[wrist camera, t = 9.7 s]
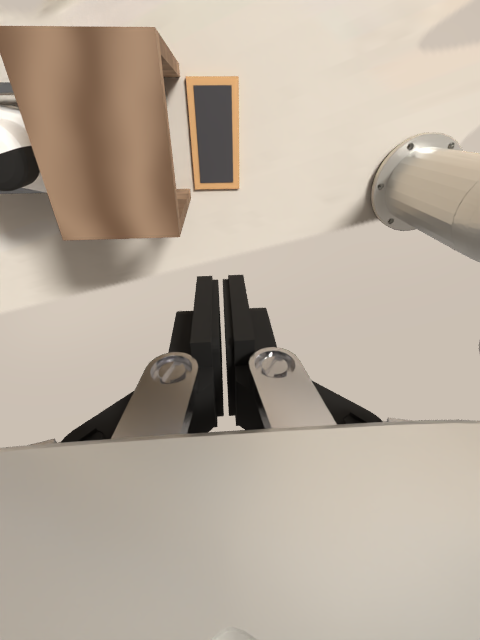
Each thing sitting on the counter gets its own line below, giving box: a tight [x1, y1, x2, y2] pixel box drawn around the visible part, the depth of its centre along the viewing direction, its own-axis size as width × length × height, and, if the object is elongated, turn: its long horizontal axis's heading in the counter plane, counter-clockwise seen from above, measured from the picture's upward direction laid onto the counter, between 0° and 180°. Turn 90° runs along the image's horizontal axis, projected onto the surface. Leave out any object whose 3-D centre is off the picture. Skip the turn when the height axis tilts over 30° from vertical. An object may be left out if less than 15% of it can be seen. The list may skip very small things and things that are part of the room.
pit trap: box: [186, 76, 239, 189], centre depth 38 cm, size 6×12×1 cm, turn 0°
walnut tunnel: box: [0, 26, 191, 240], centre depth 31 cm, size 11×14×16 cm
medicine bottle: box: [0, 105, 47, 193], centre depth 33 cm, size 7×7×12 cm
